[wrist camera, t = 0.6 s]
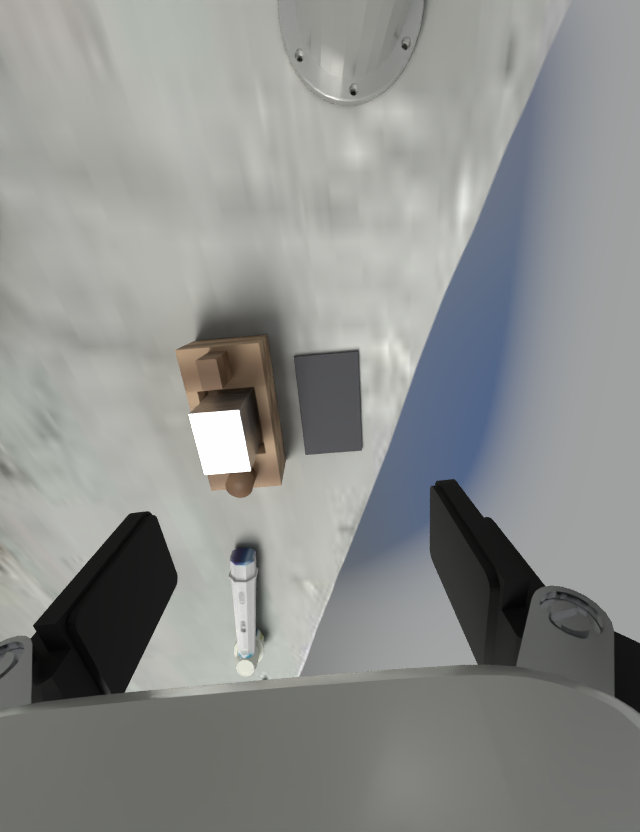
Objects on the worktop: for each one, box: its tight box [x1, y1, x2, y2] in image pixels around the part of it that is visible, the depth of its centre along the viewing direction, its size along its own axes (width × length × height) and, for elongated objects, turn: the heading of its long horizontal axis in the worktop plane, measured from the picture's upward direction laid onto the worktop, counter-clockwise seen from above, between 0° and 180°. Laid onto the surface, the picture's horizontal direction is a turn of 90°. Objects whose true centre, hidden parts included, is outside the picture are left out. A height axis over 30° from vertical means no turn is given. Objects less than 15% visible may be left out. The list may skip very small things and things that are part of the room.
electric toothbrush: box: [229, 548, 264, 676], centre depth 55 cm, size 5×7×25 cm
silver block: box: [189, 387, 263, 475], centre depth 37 cm, size 7×5×8 cm
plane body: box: [175, 334, 286, 498], centre depth 38 cm, size 18×9×10 cm, turn 5°
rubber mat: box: [294, 351, 362, 455], centre depth 43 cm, size 14×8×1 cm, turn 5°
